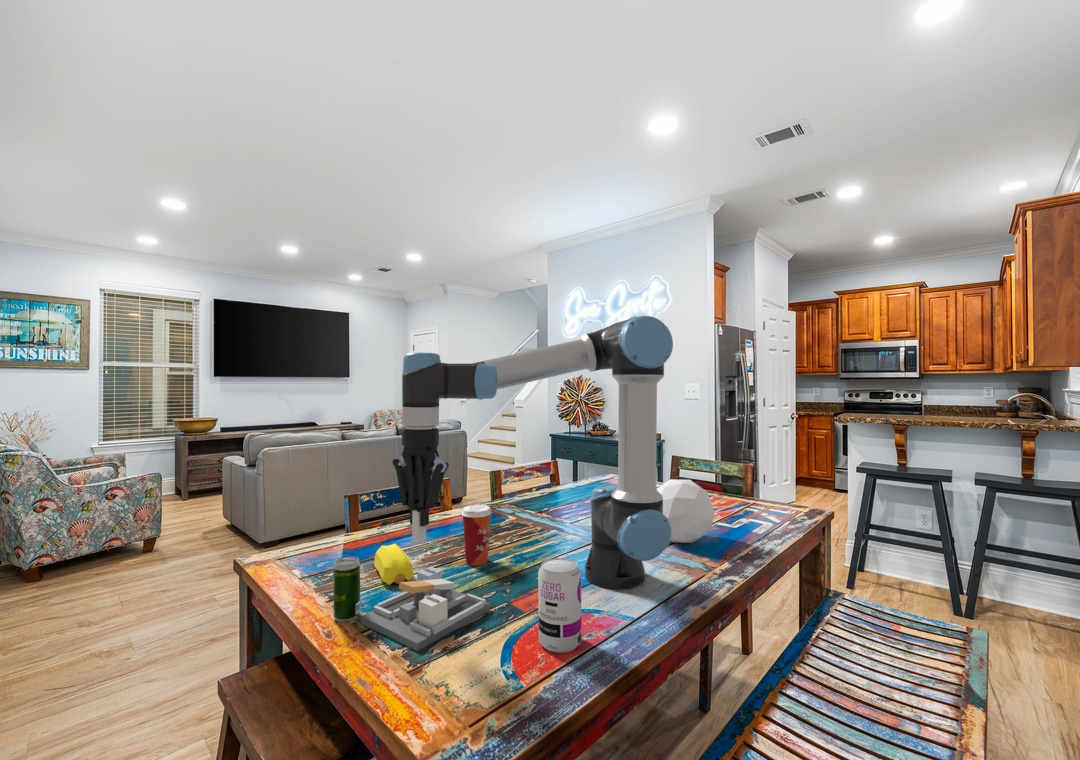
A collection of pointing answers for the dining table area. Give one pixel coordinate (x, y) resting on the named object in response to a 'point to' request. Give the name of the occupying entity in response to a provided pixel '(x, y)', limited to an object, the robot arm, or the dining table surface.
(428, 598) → the slider
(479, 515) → the coffee cup
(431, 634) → the grey slider track base
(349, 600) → the beer can
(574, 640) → the supplement can
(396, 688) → the dining table surface
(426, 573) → the slider
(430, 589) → the rocker
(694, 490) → the geometric orb
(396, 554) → the yellow faceted dome
